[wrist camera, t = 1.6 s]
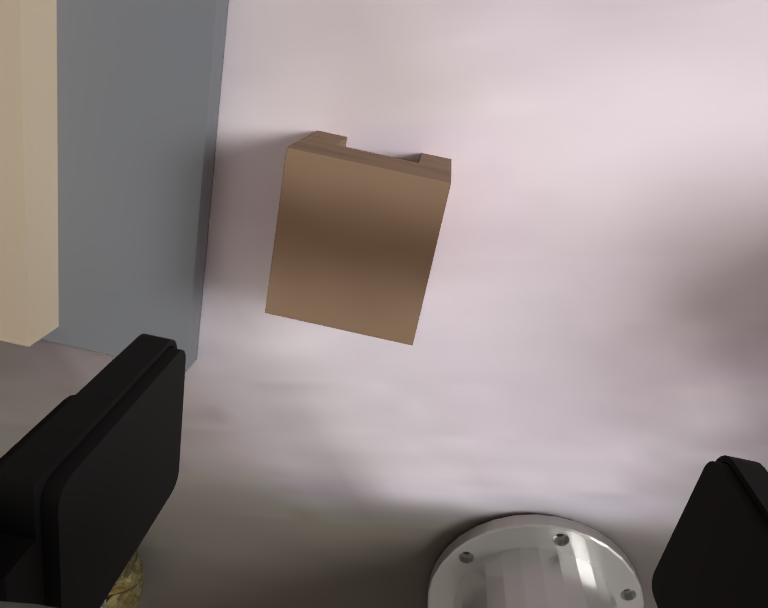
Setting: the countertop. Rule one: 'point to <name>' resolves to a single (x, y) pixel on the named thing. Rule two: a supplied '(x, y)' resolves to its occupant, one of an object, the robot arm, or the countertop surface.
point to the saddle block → (356, 237)
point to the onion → (127, 586)
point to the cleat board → (107, 168)
